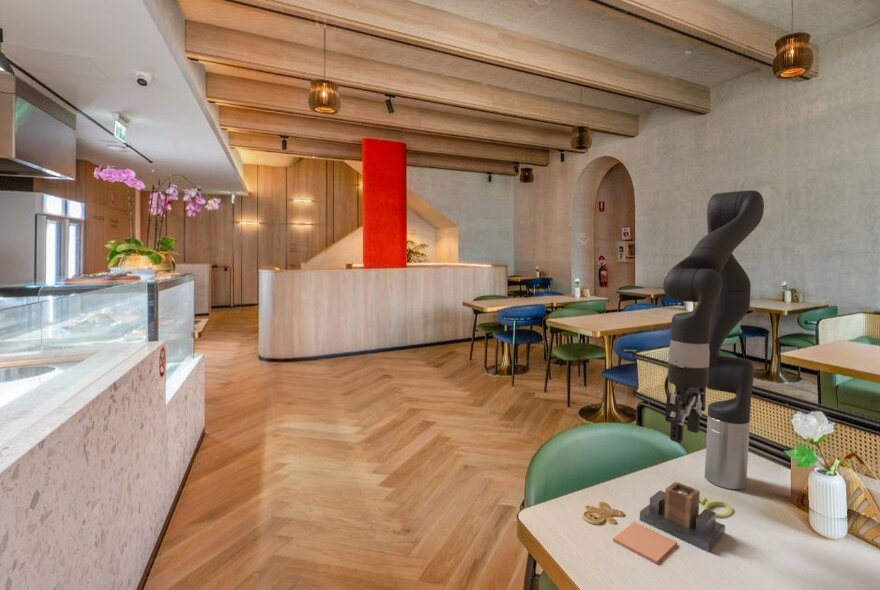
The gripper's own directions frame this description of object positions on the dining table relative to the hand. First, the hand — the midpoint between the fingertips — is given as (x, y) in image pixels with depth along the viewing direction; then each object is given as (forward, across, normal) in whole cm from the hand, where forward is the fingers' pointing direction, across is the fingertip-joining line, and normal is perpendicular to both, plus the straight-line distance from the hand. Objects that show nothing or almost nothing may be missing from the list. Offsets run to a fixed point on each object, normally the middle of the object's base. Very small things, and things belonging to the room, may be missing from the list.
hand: (684, 436), depth 93 cm
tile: (+21, +11, -2) cm, 24 cm away
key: (+21, -14, 0) cm, 25 cm away
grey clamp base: (+20, 0, 0) cm, 21 cm away
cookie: (+21, +9, -14) cm, 27 cm away
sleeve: (+18, 0, 0) cm, 19 cm away
